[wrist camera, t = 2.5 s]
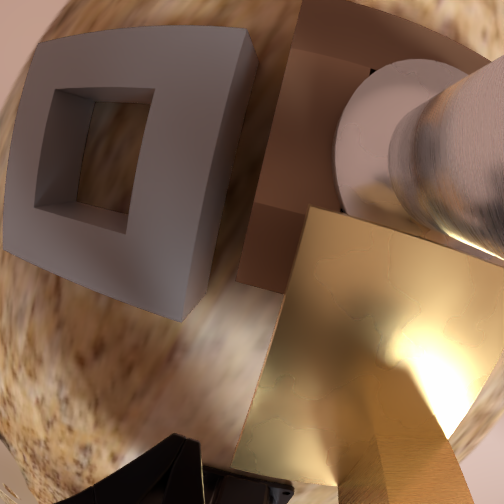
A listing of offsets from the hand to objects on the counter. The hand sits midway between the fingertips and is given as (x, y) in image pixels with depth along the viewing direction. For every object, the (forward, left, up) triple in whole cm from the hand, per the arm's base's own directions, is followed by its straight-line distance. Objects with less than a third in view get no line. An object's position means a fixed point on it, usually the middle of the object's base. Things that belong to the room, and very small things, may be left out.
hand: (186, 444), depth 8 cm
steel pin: (+9, -5, -6) cm, 12 cm away
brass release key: (+3, -5, -2) cm, 6 cm away
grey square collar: (+7, +7, -6) cm, 12 cm away
